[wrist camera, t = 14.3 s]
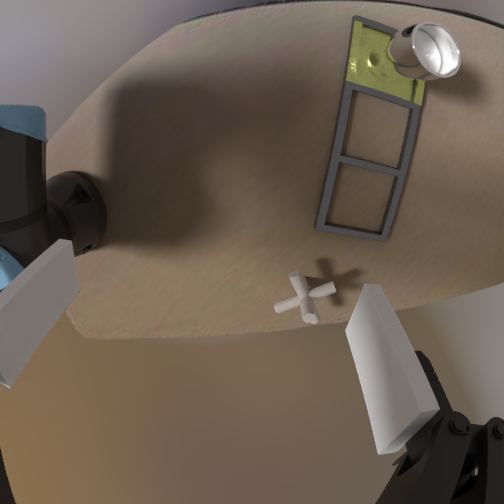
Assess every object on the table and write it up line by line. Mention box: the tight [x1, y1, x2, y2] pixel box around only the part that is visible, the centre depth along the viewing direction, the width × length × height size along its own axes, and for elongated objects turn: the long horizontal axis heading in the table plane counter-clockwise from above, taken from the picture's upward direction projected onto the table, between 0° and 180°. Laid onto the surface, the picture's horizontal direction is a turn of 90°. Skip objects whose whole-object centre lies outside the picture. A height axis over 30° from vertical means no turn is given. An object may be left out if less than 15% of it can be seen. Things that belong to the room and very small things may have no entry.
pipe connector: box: [274, 270, 336, 324], centre depth 46 cm, size 10×10×10 cm
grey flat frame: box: [314, 15, 425, 242], centre depth 38 cm, size 12×34×1 cm, turn 172°
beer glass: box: [367, 21, 461, 81], centre depth 26 cm, size 7×7×15 cm
